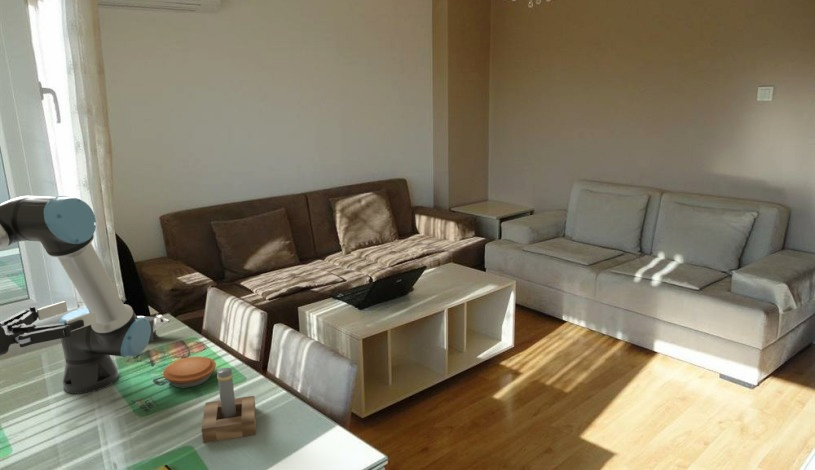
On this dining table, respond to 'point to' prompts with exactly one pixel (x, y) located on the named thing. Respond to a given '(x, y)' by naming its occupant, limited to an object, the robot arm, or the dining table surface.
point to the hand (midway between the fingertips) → (80, 311)
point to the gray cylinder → (226, 393)
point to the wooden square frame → (229, 420)
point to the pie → (189, 371)
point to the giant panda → (155, 324)
